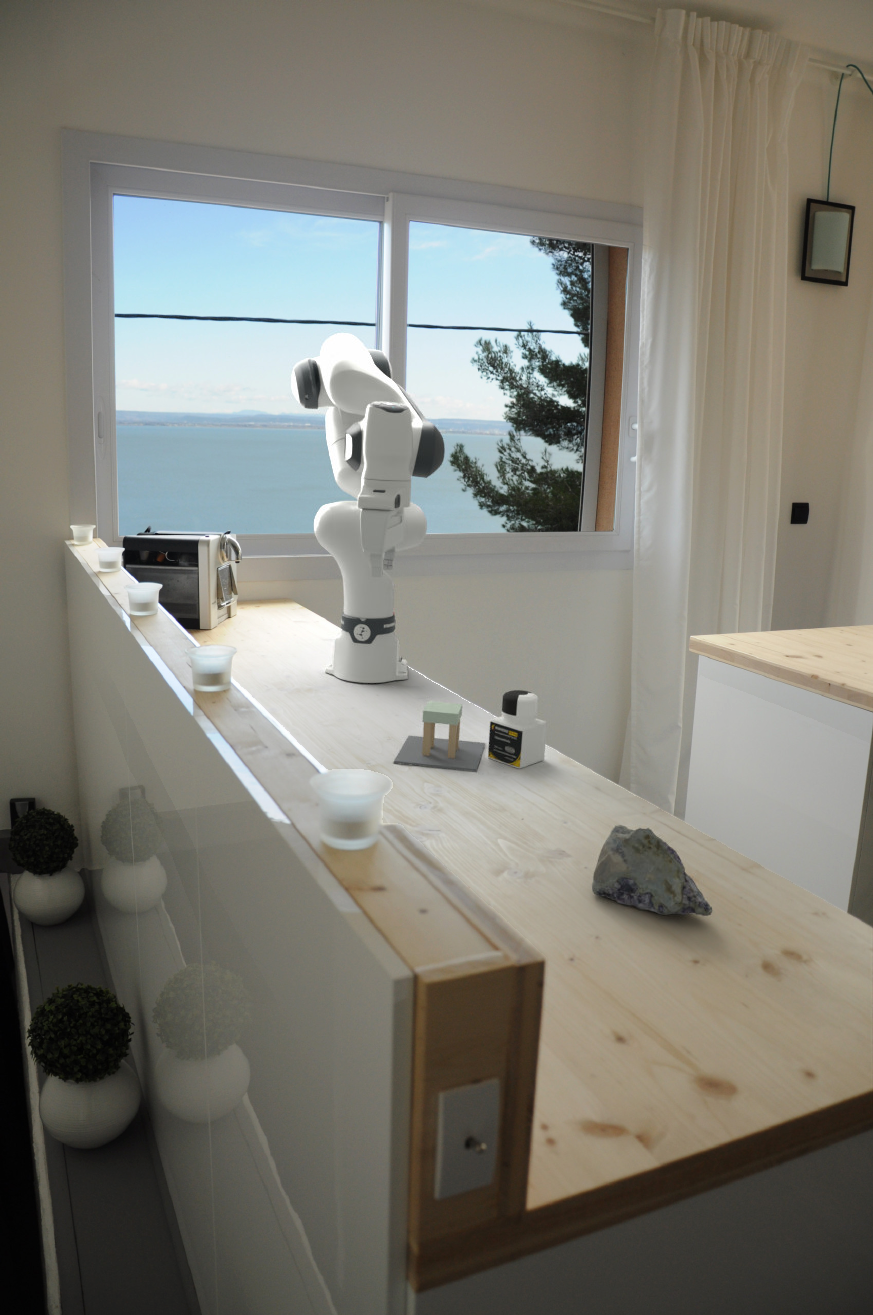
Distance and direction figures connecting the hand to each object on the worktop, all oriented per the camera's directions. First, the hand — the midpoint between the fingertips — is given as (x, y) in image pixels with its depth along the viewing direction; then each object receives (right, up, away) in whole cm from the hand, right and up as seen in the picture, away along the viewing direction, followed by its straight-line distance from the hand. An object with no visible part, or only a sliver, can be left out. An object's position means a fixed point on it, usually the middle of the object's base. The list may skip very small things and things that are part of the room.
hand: (382, 573), depth 172 cm
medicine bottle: (+23, -33, -7) cm, 41 cm away
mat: (+11, -32, -7) cm, 34 cm away
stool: (+10, -32, -7) cm, 34 cm away
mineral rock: (+35, -46, -57) cm, 81 cm away
